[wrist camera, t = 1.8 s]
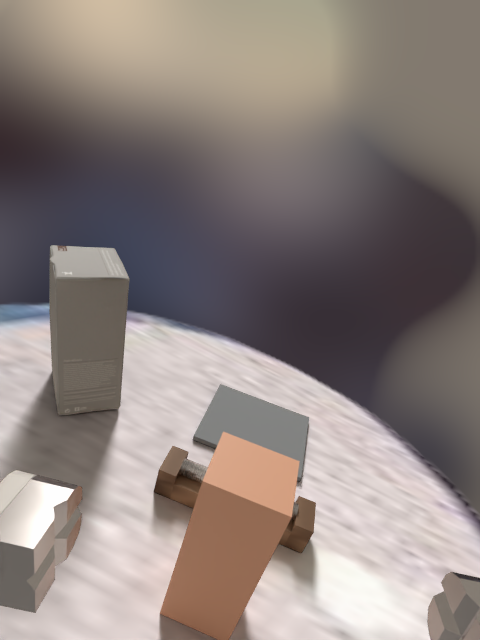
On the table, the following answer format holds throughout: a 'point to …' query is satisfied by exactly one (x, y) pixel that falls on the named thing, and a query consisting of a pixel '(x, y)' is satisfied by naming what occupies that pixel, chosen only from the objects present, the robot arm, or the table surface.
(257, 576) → the orange rectangular block
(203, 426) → the mat
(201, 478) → the bar
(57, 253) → the skincare box
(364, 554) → the table surface
